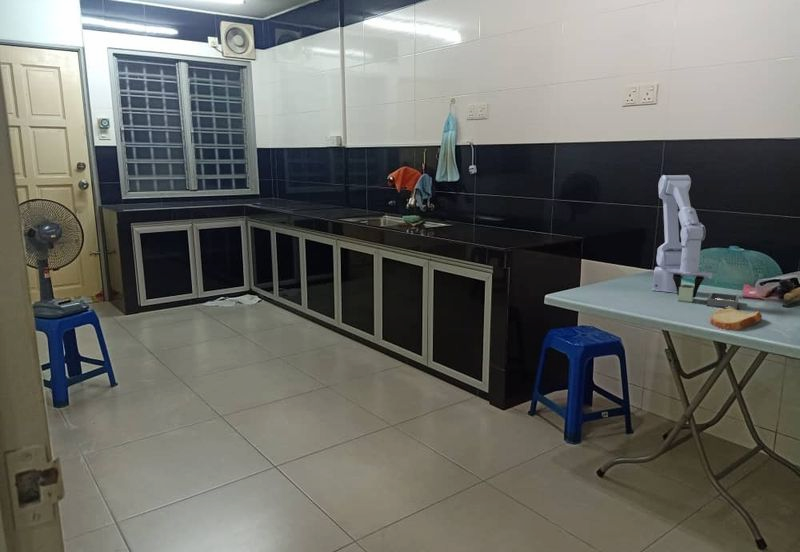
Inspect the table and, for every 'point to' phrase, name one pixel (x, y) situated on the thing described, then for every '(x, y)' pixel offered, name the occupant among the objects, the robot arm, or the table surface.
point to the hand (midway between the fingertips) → (686, 296)
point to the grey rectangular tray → (722, 303)
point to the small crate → (686, 293)
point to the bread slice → (734, 319)
